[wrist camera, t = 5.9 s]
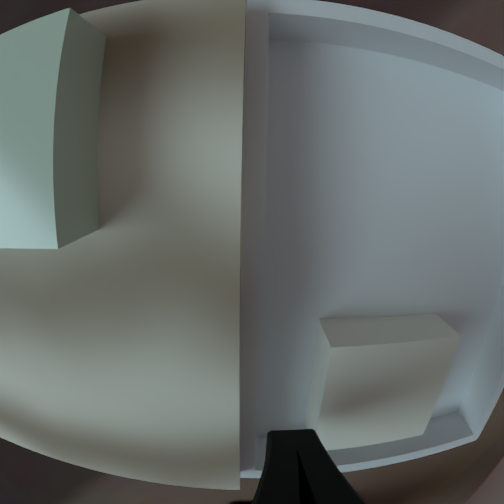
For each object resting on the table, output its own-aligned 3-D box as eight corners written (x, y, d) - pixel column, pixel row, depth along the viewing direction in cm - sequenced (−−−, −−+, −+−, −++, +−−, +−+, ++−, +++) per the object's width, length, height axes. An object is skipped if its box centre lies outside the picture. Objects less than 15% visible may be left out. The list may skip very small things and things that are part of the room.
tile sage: (99, 229, 7) (58, 249, 5) (-25, 231, 7) (-67, 246, 5) (106, 37, 6) (69, 7, 4) (-22, 78, 6) (-63, 70, 4)
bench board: (241, 431, 13) (239, 489, 10) (14, 393, 13) (-16, 429, 10) (247, 40, 9) (246, -8, 6) (-28, 94, 9) (-78, 88, 6)
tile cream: (311, 451, 11) (304, 418, 13) (422, 434, 11) (407, 407, 13) (331, 347, 9) (318, 318, 11) (460, 335, 9) (435, 313, 11)
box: (456, 412, 14) (476, 439, 11) (241, 438, 13) (240, 477, 11) (512, 87, 9) (548, 81, 7) (247, 29, 9) (246, -5, 7)
